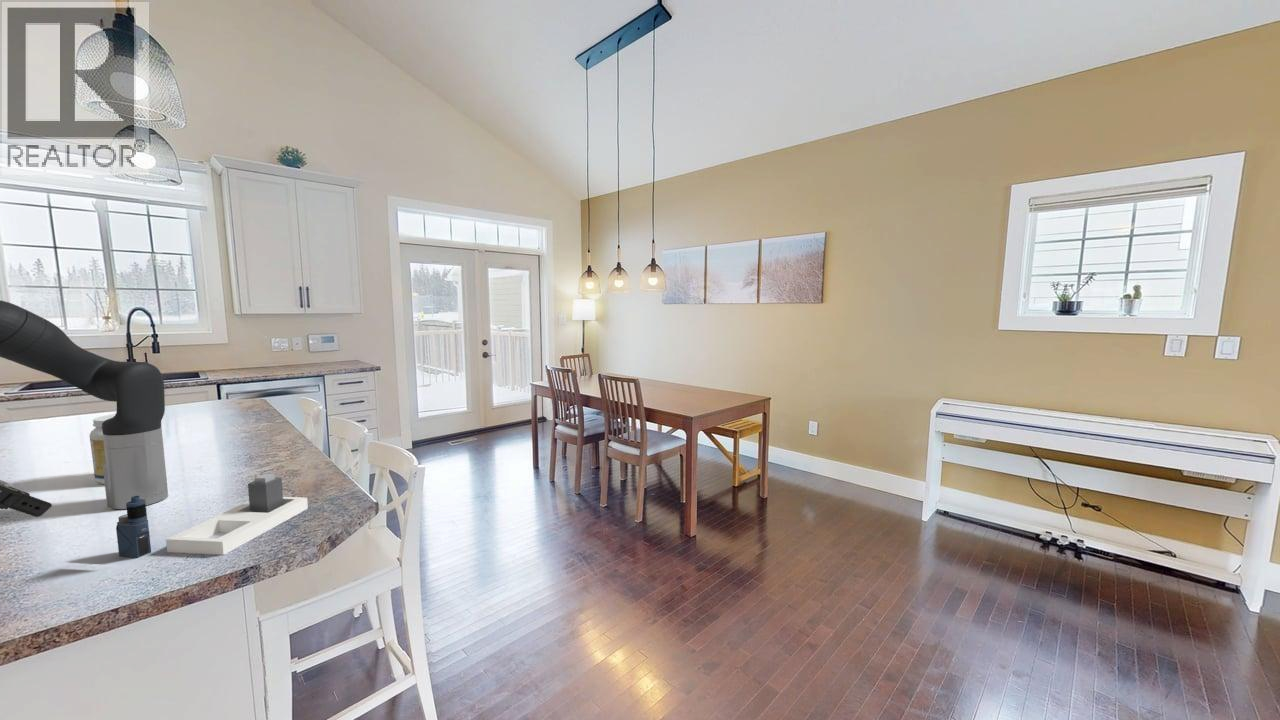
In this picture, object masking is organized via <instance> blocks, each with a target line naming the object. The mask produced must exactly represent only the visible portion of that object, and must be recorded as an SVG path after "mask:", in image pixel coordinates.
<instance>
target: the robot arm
mask: <svg viewBox="0 0 1280 720" xmlns="http://www.w3.org/2000/svg"><path fill="white" fill-rule="evenodd" d="M0 358H3V359H5V360H8V361H10V362H14V363H16V364H19V365H21V366H24V367H27V368H29V369H31V370H32V369H33V370H35V371H39V372H41V373H44V374H47V375H51V376H53V377H54V378H57V379H60V380H62V381H63V382H66V383H67V384H70V385H72V386H73V387H76V388H77V389H79V390H81V391H82V392H84V393H87V394H89V395H91V396H92V397H94V398H97V399H99V400H103V401H106V402H114V403H116V413H115V414H116V415H115V416H114V417H112V418H110V419H107V420H105V421H104V422H103V423H102V432H103V441H104V449H105V458H106V465H104V466H103V473H104V482H105V484H104V489H105V497H106V498H105V499H106V506H107V507H110V508H111V509H114V510H127V507H126V503H127V502H130V501H131V497H133V496H140V499H145V502H146V506H149V505H153V504H155V503H158V502H161V501H163V500H165V499H167V498H168V497H169V490H168V478H167V470H166V458H165V448H164V447H165V446H164V439H163V427H162V420H163V418H164V415H165V412H166V411H165V409H166V406H165V405H166V402H165V399H166V397H165V396H166V395H165V382H164V377H163V374H162V372H161V371H160V369H159V368H158V367H157V366H155V365H153V364H151V363H149V362H141V361H139V362H138V361H120V360H119V361H117V360H113V359H110V358H106V357H104V356H102V355H101V356H100V355H99V354H96V353H93V352H91V351H89V350H87V349H84V348H82V347H81V346H79V345H77V344H76V343H75V342H74V341H72V339H71V338H70V337H68V335H67V334H66V333H65V332H64V331H63V330H62V329H61V328H60V327H59V326H58V325H56V324H54V323H53V322H52V321H49V320H47V319H46V318H43V316H40V315H39V314H36V313H34V312H32V311H29V310H27V309H26V308H23V307H21V306H19V305H17V304H14V303H12V302H8V301H5V300H2V299H0ZM52 504H53V503H51V502H48V501H46V500H43V499H41V498H37V497H36V496H35V497H34V496H32V495H30V493H29V492H26V491H24V490H20V489H18V488H15V487H12V486H10V483H9V482H7V481H4V480H1V479H0V510H8V509H11V510H13V511H16V512H20V513H23V514H26V515H29V516H32V517H36V518H39V517H42V516H43V515H44V514H45V513H46V512H47V511H48V510H50V508H52Z"/></svg>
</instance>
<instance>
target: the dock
mask: <svg viewBox="0 0 1280 720" xmlns="http://www.w3.org/2000/svg"><path fill="white" fill-rule="evenodd" d="M308 503H309V502H308V497H301V496H298V497H295V496H283V506H281V507H279V508H277V509H275V510H273V511H271V512H269V513H262V512H250V505H249V501H247V502H244V503H241V504H240V505H238V506H236V507H233V508H232V509H229V510H226V511H224V512H222V513H220V514H217V515H216V516H214V517H211V518H210V519H207V520H205V521H202V522H201V523H198V524H196V525H194V526H192V527H190V528H187V529H185V530H183V531H181V532H178V533H176V534H174V535H172V536H170V537H167V538H166V539H165V545H166V553H172V554H173V553H175V554H176V553H177V554H193V555H194V554H197V555H214V556H215V555H219V556H225V555H226V554H227V553H230V552H231V551H233V550H236V549H237V548H239V547H240V546H242V545H244V544H246V543H248V542H249V541H251V540H253V539H255V538H257V537H259V536H261V535H263V534H264V533H266V532H268V531H271V529H273V528H275V527H277V526H279V525H281V524H282V523H284V522H287V521H289V519H292V518H294V517H295V516H297V515H299V514H301V513H302V512H304V511H306V510H307V509H309V508H308V507H309V506H308V505H309V504H308Z"/></svg>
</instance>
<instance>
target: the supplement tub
mask: <svg viewBox="0 0 1280 720" xmlns="http://www.w3.org/2000/svg"><path fill="white" fill-rule="evenodd" d="M115 415H116V413H113V414H108V415H101V416H98V417H95V418H93V420H92V421H93V424H92V426H93V427H94V428H93V429H92V430H91V431H90V433H89V443H90V450H91V457H92V459H91V460H92V467H93V473H94V474H93V475H94V480H95V482H97V484H102V485H105V482H104V473H103V466H104V465H106V458H105V449H104V441H103V432H102V423H103V422H104V421H105V420H107V419H110V418H112V417H114V416H115Z"/></svg>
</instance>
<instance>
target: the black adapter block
mask: <svg viewBox="0 0 1280 720" xmlns="http://www.w3.org/2000/svg"><path fill="white" fill-rule="evenodd" d="M282 478H283V477H277V476H276V475H275V474H272V473H263V474H260V475H258V476H256V477H254V480H253V481H251V482H249V483H247V488H248V490H247V491H248V502H249V505H250V512H262V513H269V512H271V511H273V510H275V509H277V508H279V507H281V506H283V497H284V494H283V481H282Z"/></svg>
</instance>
